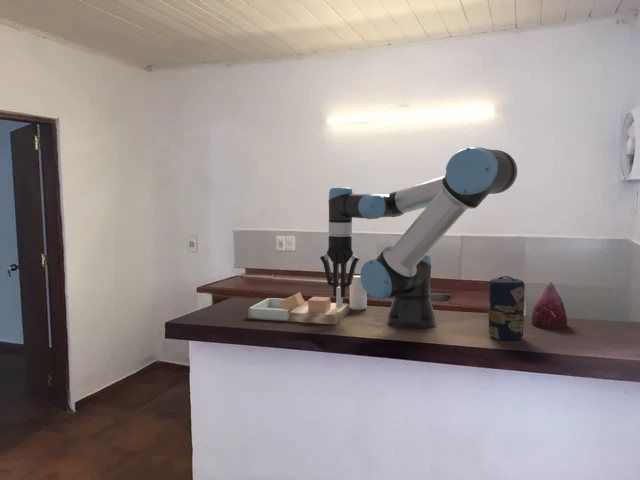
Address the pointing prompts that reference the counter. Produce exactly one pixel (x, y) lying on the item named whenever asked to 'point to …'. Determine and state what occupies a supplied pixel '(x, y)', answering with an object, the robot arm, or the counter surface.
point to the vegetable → (549, 310)
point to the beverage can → (357, 294)
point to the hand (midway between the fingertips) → (339, 306)
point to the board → (318, 314)
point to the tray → (269, 310)
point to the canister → (506, 308)
